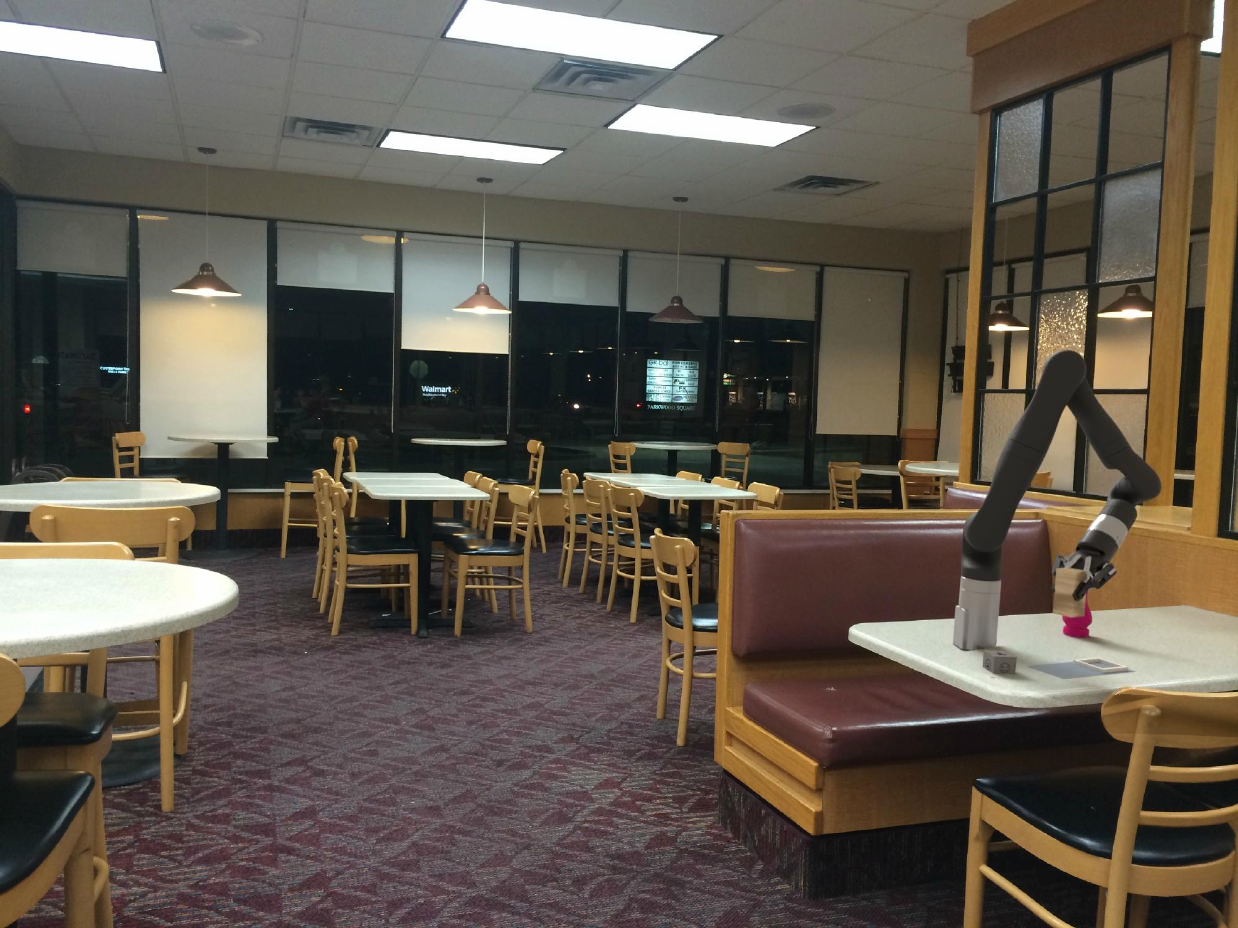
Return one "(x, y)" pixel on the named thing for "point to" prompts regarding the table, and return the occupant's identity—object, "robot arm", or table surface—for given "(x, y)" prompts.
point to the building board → (1082, 668)
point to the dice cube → (999, 662)
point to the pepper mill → (1078, 623)
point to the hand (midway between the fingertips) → (1064, 595)
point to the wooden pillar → (1068, 592)
